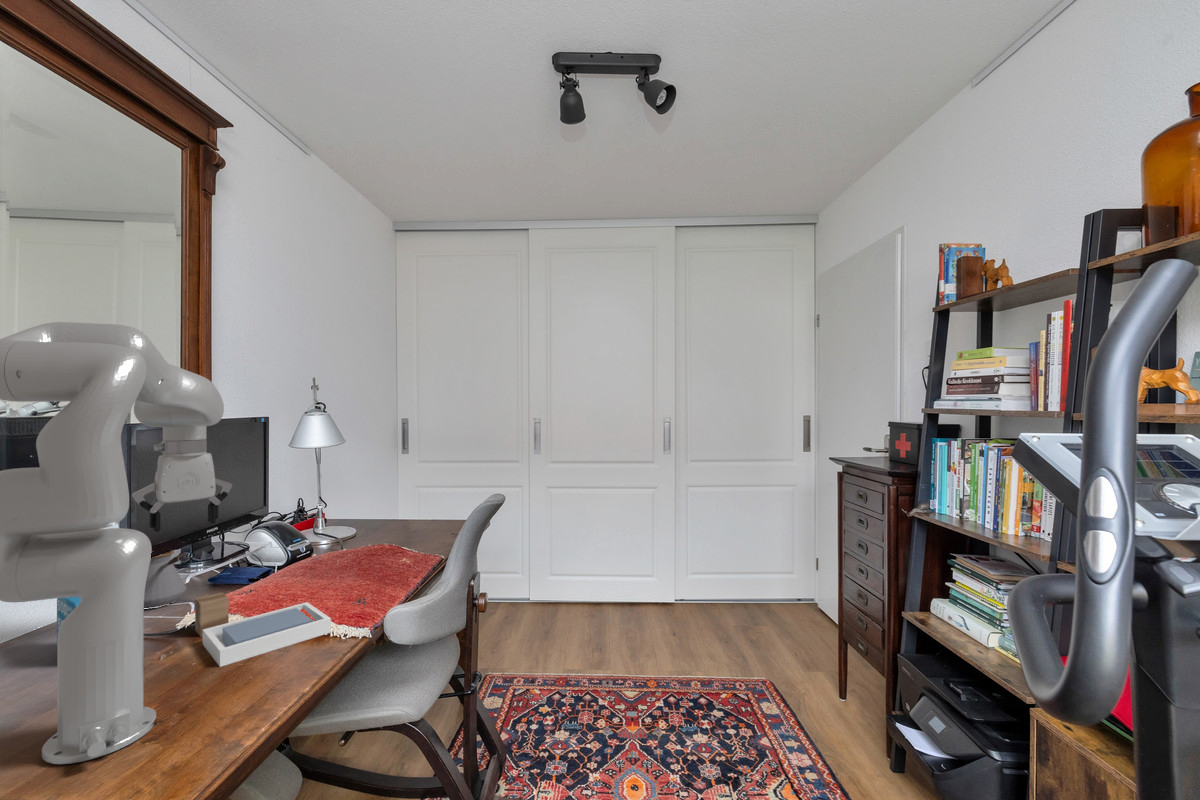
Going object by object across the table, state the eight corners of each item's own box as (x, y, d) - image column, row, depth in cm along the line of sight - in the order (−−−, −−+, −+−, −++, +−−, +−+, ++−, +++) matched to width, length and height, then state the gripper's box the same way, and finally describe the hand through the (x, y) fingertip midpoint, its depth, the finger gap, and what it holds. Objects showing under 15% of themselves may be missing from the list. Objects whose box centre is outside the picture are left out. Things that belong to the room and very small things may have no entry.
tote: (330, 636, 114) (330, 618, 114) (219, 672, 99) (220, 650, 99) (307, 619, 123) (307, 602, 123) (202, 648, 108) (202, 629, 108)
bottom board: (312, 634, 113) (312, 620, 113) (235, 657, 103) (235, 642, 103) (296, 621, 120) (296, 608, 120) (222, 642, 109) (222, 627, 109)
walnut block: (228, 634, 116) (228, 597, 116) (200, 641, 112) (200, 604, 112) (222, 627, 119) (222, 592, 119) (195, 634, 115) (195, 598, 115)
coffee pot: (119, 607, 131) (119, 547, 131) (175, 592, 141) (175, 537, 141) (154, 625, 120) (154, 560, 120) (212, 608, 130) (212, 548, 130)
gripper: (136, 452, 105) (136, 537, 105) (236, 446, 119) (236, 522, 119) (129, 450, 110) (129, 531, 110) (226, 444, 124) (226, 517, 124)
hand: (185, 526), depth 114 cm, fingers open, 9 cm apart
